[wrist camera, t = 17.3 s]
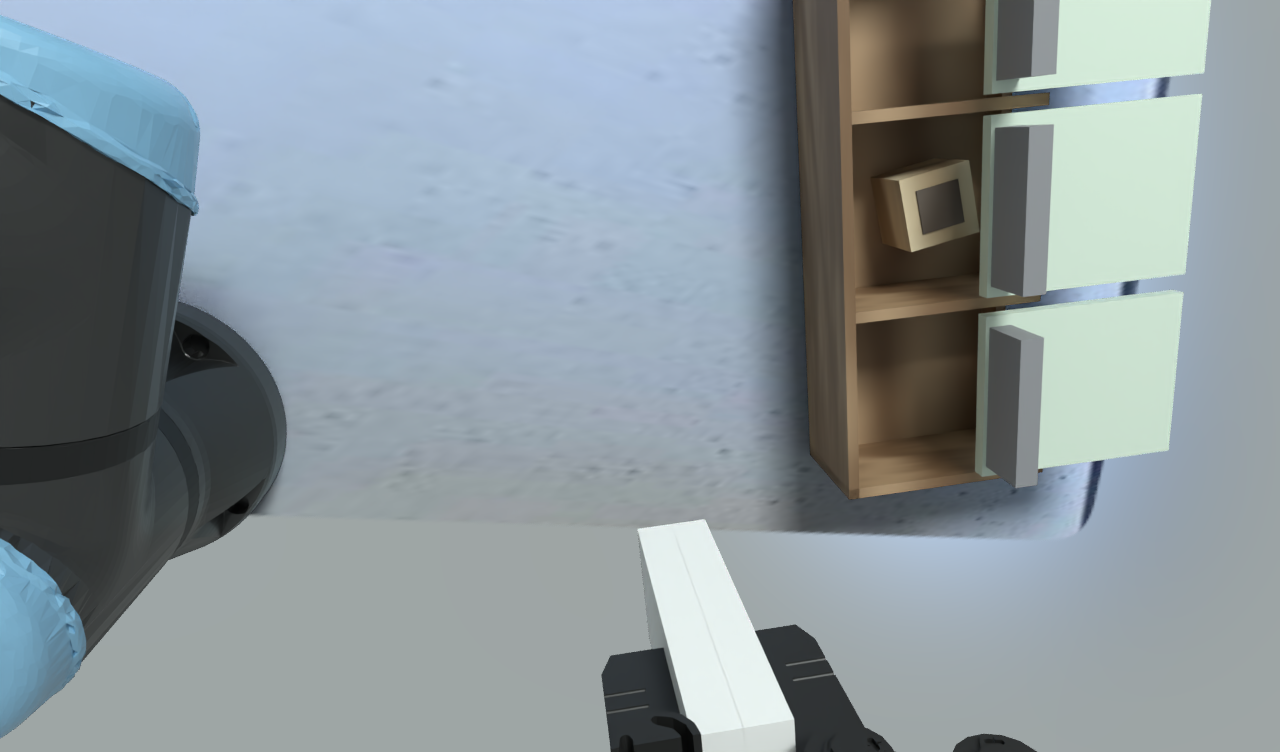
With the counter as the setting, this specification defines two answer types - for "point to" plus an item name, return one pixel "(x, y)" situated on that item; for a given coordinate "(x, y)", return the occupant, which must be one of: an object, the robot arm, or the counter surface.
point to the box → (878, 273)
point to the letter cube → (925, 204)
